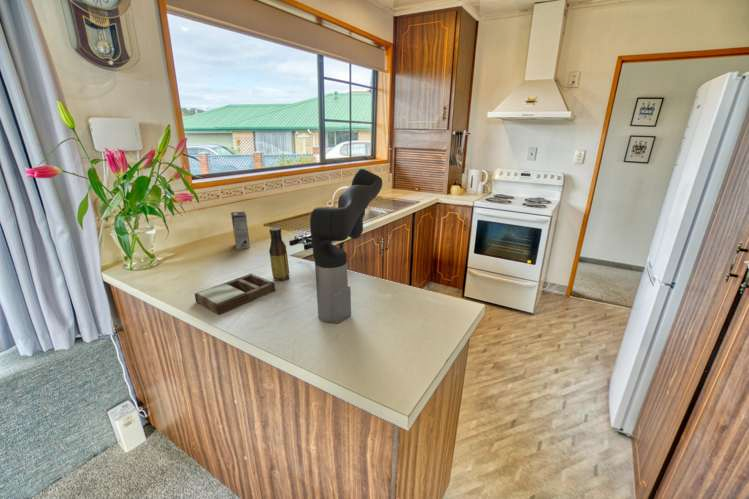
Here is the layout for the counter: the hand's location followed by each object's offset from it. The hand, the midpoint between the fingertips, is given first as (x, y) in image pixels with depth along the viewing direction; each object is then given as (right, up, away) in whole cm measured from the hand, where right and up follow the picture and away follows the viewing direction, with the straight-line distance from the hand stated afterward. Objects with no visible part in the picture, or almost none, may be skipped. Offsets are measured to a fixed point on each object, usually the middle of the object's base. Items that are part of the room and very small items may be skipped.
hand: (297, 245), depth 133 cm
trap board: (-17, -18, -17) cm, 30 cm away
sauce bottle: (-5, -13, -3) cm, 14 cm away
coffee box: (-34, 0, +34) cm, 49 cm away
